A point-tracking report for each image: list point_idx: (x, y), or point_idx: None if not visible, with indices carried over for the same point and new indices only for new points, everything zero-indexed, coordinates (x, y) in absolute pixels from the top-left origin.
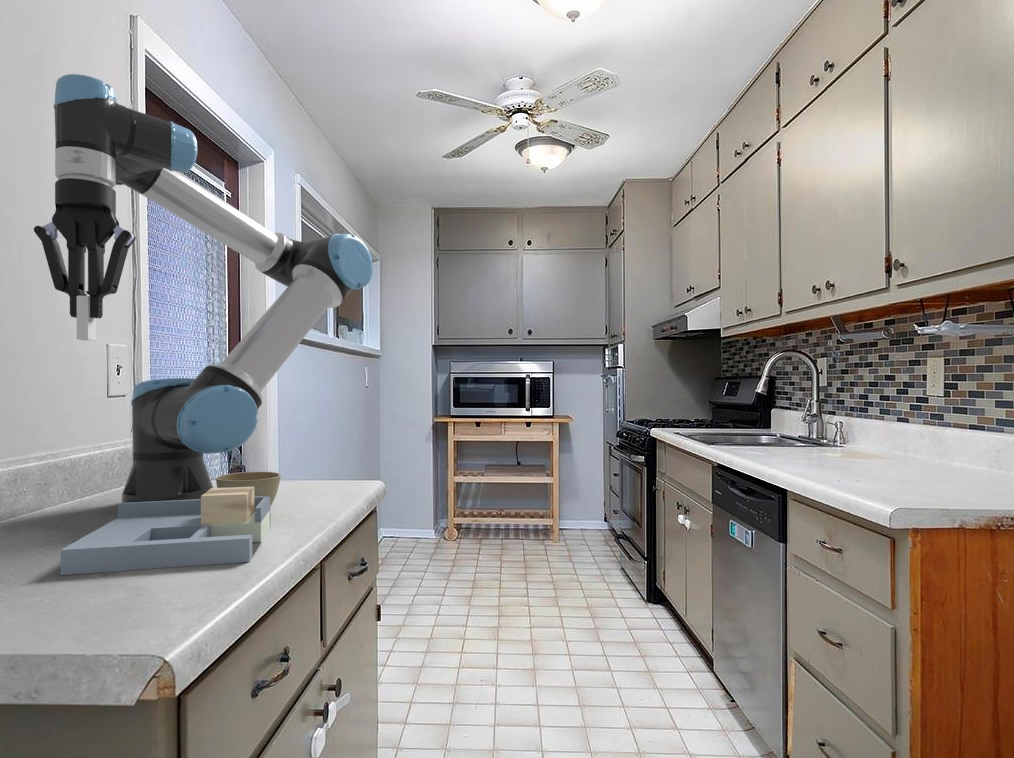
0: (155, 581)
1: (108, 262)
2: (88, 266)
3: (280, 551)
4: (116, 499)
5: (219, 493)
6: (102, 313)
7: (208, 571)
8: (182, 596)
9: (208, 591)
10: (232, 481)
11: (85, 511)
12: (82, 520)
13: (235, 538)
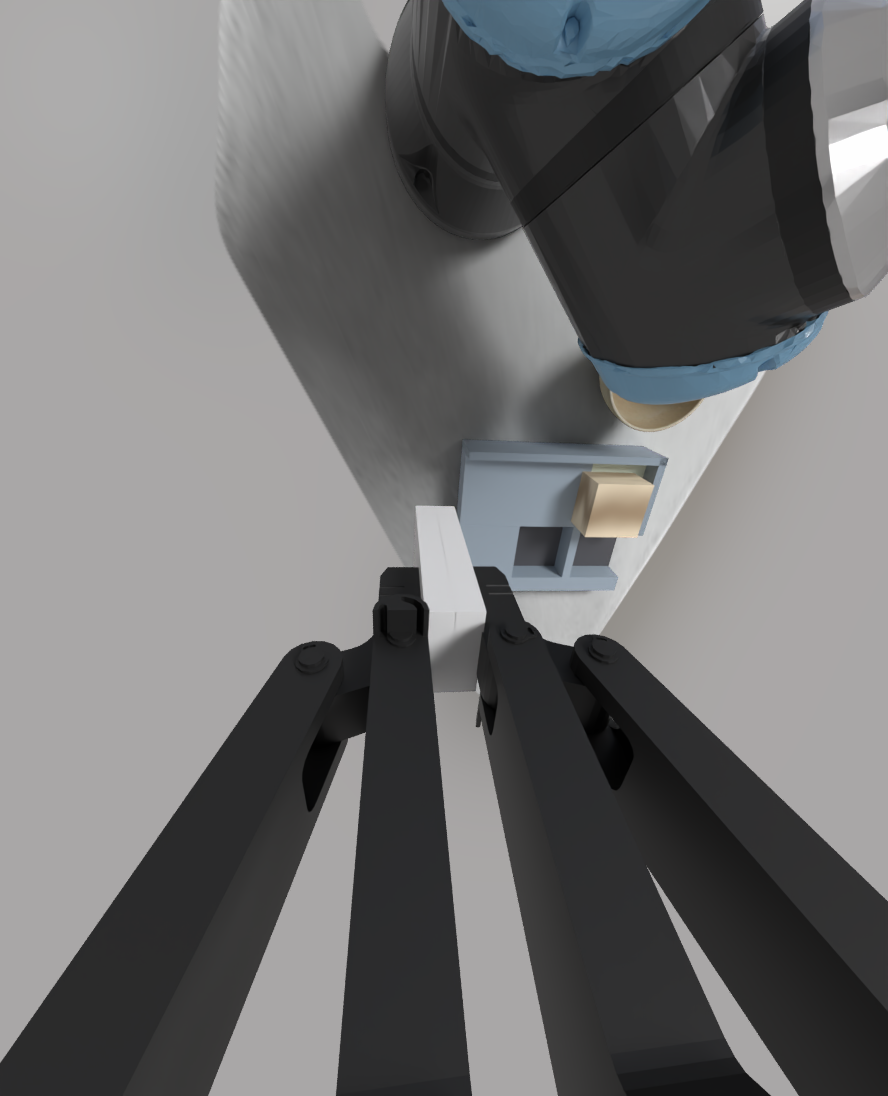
0: (531, 608)
1: (687, 926)
2: (519, 887)
3: (634, 551)
4: None
5: (606, 526)
6: (507, 581)
7: (570, 593)
8: (554, 640)
9: (570, 635)
10: (631, 427)
11: (329, 177)
12: (364, 290)
13: (602, 587)
